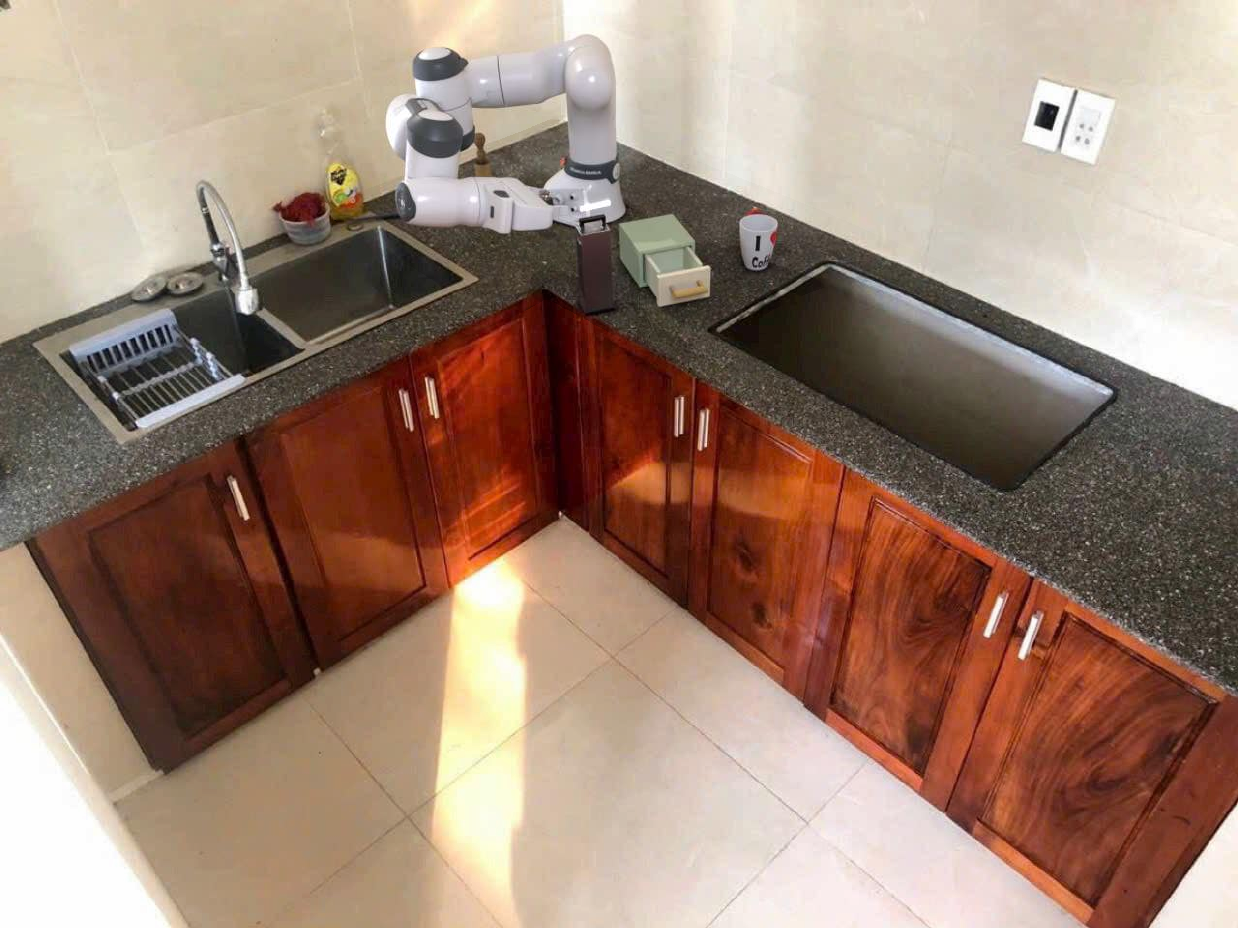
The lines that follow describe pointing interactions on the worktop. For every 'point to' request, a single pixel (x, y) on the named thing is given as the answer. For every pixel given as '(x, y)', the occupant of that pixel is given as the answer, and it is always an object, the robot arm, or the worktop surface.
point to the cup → (757, 240)
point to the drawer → (676, 275)
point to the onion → (754, 212)
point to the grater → (594, 265)
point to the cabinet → (650, 241)
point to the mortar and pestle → (481, 158)
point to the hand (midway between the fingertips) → (557, 202)
